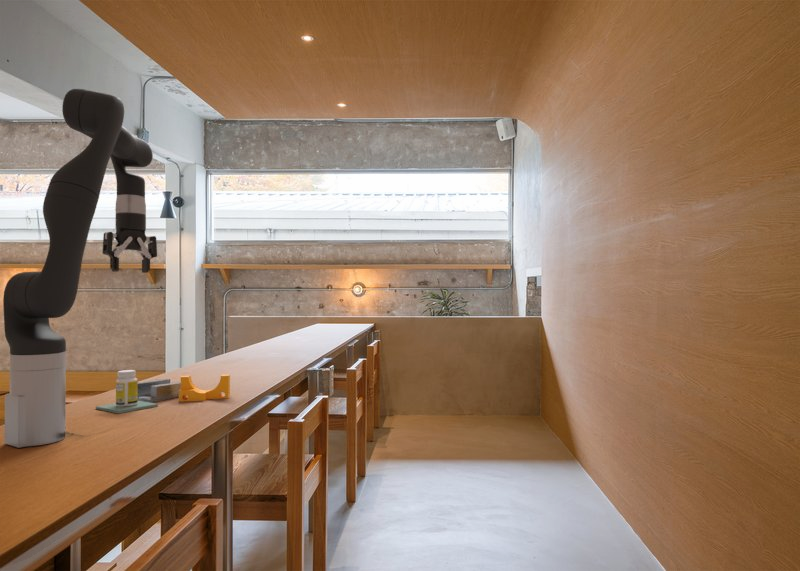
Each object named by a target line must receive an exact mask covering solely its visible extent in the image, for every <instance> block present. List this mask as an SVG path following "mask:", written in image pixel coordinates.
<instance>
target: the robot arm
mask: <svg viewBox="0 0 800 571" xmlns="http://www.w3.org/2000/svg"><path fill="white" fill-rule="evenodd" d="M124 106H125V105H124V102H123V100H122V99H121V98H120V97H118V96H116V95H113V94H109V93H105V92H100V91H94V90H89V89H84V88H72V89H70V90H68V91H67V92H66V94H65V95H64V98H63V101H62V110H61V111H62V116H63V119H64V122H65V124H66V125H67V126H68V127H69V128H71V129H72V130H74V131H76V132H78V133H81V134H83V135H85V136H87V137H89V138H90V139H91V140H90V142H89V144H88V145H87V146H86V147H85V148H84V149H83V150H82V151H81V152H80V153H78V154H77V155H76V156H75V157H73V158H72V159H71V160H69V161H68V162H66V163H65V164H64V165H62V166H61V167H60V168H59V169H58V170H57V171H56V172H55V173H54V174H53V175H52V177H51V178H50V181H49V183H48V187H47V189H46V194H45V196H44V199H43V203H42V204H43V205H42V213H43V214H42V215H43V220H44V223H45V226H46V229H47V233H48V237H49V247H48V253H47V255H46V258H45V259H46V260H45V261H44V265H43V267H42V269H41V271H24V272H23V271H22V272H19V273H16V274H14V275H12V276H11V277H10V278H9V280H8V281H7V283H6V285H5V287H4V291H3V298H2V300H3V301H2V302H3V304H2V305H3V325H4V337H5V340H6V341H7V344H8V346H9V393H8V392H7V393H5V395H4V444H6V445H9V446H11V447H15V448H25V447H35V446H43V445H47V444H53V443H57V442H60V441H62V440H64V439H65V438H66V429H67V428H66V427H67V426H66V400H67V399H66V388H67V387H66V385H67V384H66V381H67V380H66V378H67V377H66V376H67V375H66V374H67V371H66V369H67V367H66V366H67V365H66V363H67V361H66V360H67V353H66V351H67V342H66V341H67V340H66V338H65V337H63V336H62V335H60V334H59V333H57V332H56V331H55V330H53V329H52V327H51V325H50V319H57V318H61V317H63V316H65V315H67V314H68V313H69V311H71V309H72V307H73V305H74V304H75V301H76V298H77V294H78V290H79V289H78V288H79V284H80V276H81V269H82V264H83V257H84V253H85V249H86V244H87V240H88V235H89V233H90V229H91V225H92V222H93V219H94V216H95V213H96V209H97V205H98V202H99V199H100V195H101V190H102V186H103V182H104V179H105V178H104V177H105V175H106V171H107V168H108V165H109V161H110V160H111V163H112V166H113V169H114V173H115V179H116V200H115V208H114V209H115V210H114V211H115V232H112V231H106V232H104V233H103V238H102V240H103V241H102V255H105V256H108V257H109V258H110V259H109V269H110V270H111V271H112V272H115V273H116V272H119V270H120V258H119V255H121V253H122V252H124V251H127V250H128V251H136V252H137V254H139V255H140V256H141V258H142V259H141V273H143V274H145V273H146V274H147V273H149V271H150V270H151V259H153V258H157V257H158V247H157V246H158V244H157V236H156V235H155V236H154V235H153V236H147V235H146V230H147V204H146V182H145V178H144V177H143V176H140V175H137V174H134V173H129V172H128V171H127V169H126V168H127V167H129V168H146V167H148V166H149V165H151V163H152V161H153V156H154V155H153V154H154V153H153V150H152V148H151V146H150V144H148V142H147V141H145V140H143V139H142V138H139V137H137V136H134V135H132V133H131V132H130V131H129V130H128V129H127V128H126V127H124V126H123V123H124V120H125V107H124ZM115 240H116V242H117V243H116V244H115V245H114V246H113V241H115ZM145 243H146V244H147V246H146V244H145Z"/></svg>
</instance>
